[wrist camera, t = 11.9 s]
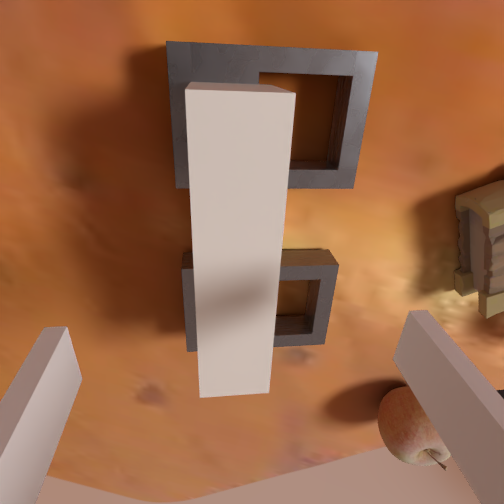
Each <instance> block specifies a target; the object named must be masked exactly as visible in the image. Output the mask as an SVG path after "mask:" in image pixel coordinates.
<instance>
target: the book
mask: <svg viewBox="0 0 504 504" xmlns="http://www.w3.org/2000/svg"><path fill="white" fill-rule="evenodd" d="M455 198H456V201H455V209H456V218H458V219H459V220H460V223H459V225H458V228H459V232H460V238H459V240H458V247H459V249H460V251H461V255H460V256H459V257H458V258H459V262H460V263H461V265H462V267H461V268H460V269H459V270H455V271H454V275H455V291H456V292H458V293H459V294H460V295H461V296H462V297H463V296H466V295H469V294H472V293H474V292H477V291H478V295H479V312H480V313H481V314H482V315H483V316H484V317H485V318H486V319H487V318H489V317H491V316H493V315H495V314H497V313H500V312H504V179H503V180H499V181H496V182H493V183H490V184H487V185H485V186H482V187H479V188H476V189H474V190H471V191H468V192H465V193H463V194H460V195H457V196H456V197H455Z"/></svg>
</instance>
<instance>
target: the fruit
mask: <svg viewBox="0 0 504 504" xmlns="http://www.w3.org/2000/svg"><path fill="white" fill-rule="evenodd" d="M378 427H379V431H380V434H381V437H382V439H383V441H384V443H385V445H386V447H387V448H388V450H389V451H390V452H391V453H392V454H393V455H394V456H395V457H397V458H398V459H399V460H401V461H403V462H405V463H408V464H412V465H419V466H428V465H433V464H437V463H438V464H439V465H441V467H442V468H444V470H447V466H444V465H443V464H441V463H440V462H442V461H445V460H446V459H448V458H449V457H450V456H451V454H450V452H449V451H448V449H447V447H446V446H445V444H444V442H443V441H442V439H441V437H440V436H439V434H438V433H437V431H436V429H435V428H434V426H433V424H432V423H431V421H430V419H429V418H428V416H427V415H426V413H425V411H424V410H423V408H422V406H421V405H420V403H419V402H418V400H417V398H416V397H415V395H414V393H413V392H412V390H411V388H410V387H409V386H405V387H399V388H396V389H393V390H391V391H389V392H388V393H387V394H386V395H385V396H384V398H383V399H382V401H381V404H380V407H379V411H378Z"/></svg>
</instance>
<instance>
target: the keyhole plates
mask: <svg viewBox="0 0 504 504" xmlns="http://www.w3.org/2000/svg"><path fill="white" fill-rule="evenodd" d="M166 49H167V63H168V78H169V93H170V108H171V122H172V137H173V152H174V167H175V182H176V188H190V184H189V163H188V143H187V122H186V102H185V89H186V87H187V86H188V85H189V83H190V82H212V83H239V84H259V72H275V73H298V74H322V75H339V77H338V84H337V91H336V98H335V105H334V112H333V119H332V126H331V133H330V140H329V147H328V155H327V161H314V160H290V165H289V176H288V187H287V188H308V189H353V187H354V181H355V176H356V170H357V165H358V160H359V154H360V149H361V143H362V138H363V132H364V127H365V122H366V116H367V111H368V105H369V100H370V95H371V89H372V84H373V78H374V73H375V67H376V62H377V57H378V52H370V51H350V50H331V49H311V48H292V47H273V46H253V45H234V44H214V43H195V42H175V41H166ZM338 268H339V264H338V263H337V261H336V260H335V258H334V257H333V255H332V254H331V252H330V250H329V249H327V250H282V253H281V264H280V275H279V281H284V280H310V282H309V289H308V296H307V303H306V310H305V315H298V316H276V320H275V331H274V342H273V347H284V346H302V345H320V344H325V338H326V333H327V327H328V322H329V317H330V311H331V306H332V300H333V295H334V289H335V284H336V279H337V273H338ZM181 270H182V285H183V300H184V314H185V329H186V344H187V352H193V351H198V348H197V327H196V307H195V286H194V266H193V252H184V253H183V260H182V269H181Z"/></svg>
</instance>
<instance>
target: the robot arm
mask: <svg viewBox="0 0 504 504" xmlns="http://www.w3.org/2000/svg"><path fill="white" fill-rule="evenodd" d="M393 361H394V362H395V364H396V366H397V367H398V369H399V370H400V372H401V374H402V375H403V377H404V379H405V380H406V382H407V384H408V385H409V387H410V388H411V390H412V392H413V393H414V395H415V397H416V398H417V400H418V402H419V403H420V405H421V406H422V408H423V410H424V411H425V413H426V415H427V416H428V418H429V419H430V421H431V423H432V424H433V426H434V428H435V429H436V431H437V433H438V434H439V436H440V437H441V439H442V441H443V442H444V444H445V446H446V447H447V449H448V451H449V452H450V454H451V455H452V457H453V459H454V460H455V462H456V463H457V465H458V467H459V468H460V470H461V472H462V473H463V475H464V476H465V478H466V480H467V482H468V483H469V485H470V486H471V488H472V490H473V491H474V493H475V495H476V496H477V498H478V500H479V501H480V503H481V504H504V390H495V388H494V387H493V386H492V385H491V384H490V383H489V382H488V380H487V379H486V378H485V377H484V376H483V375H482V373H481V372H480V371H479V370H478V369H477V368H476V366H475V365H474V364H473V363H472V362H471V361H470V359H469V358H468V357H467V356H466V355H465V354H464V353H463V351H462V350H461V349H460V348H459V347H458V346H457V344H456V343H455V342H454V341H453V340H452V339H451V337H450V336H449V335H448V334H447V333H446V332H445V331H444V329H443V328H442V327H441V326H440V325H439V324H438V322H437V321H436V320H435V319H434V318H433V317H432V315H431V314H430V313H429V312H428V311H427V310H417V311H409V313H408V316H407V319H406V322H405V325H404V328H403V331H402V334H401V337H400V340H399V343H398V346H397V348H396V351H395V354H394V357H393ZM81 381H82V376H81V373H80V369H79V366H78V362H77V359H76V356H75V352H74V349H73V345H72V342H71V339H70V335H69V332H68V328H67V326H64V327H44V329H43V330H42V332H41V334H40V335H39V337H38V339H37V341H36V342H35V344H34V346H33V347H32V349H31V351H30V352H29V354H28V356H27V358H26V359H25V361H24V363H23V364H22V366H21V368H20V369H19V371H18V373H17V375H16V376H15V378H14V380H13V381H12V383H11V385H10V387H9V388H8V390H7V392H6V393H5V395H4V397H3V398H2V400H1V402H0V504H35V503H36V501H37V498H38V495H39V493H40V490H41V487H42V485H43V482H44V479H45V477H46V474H47V472H48V469H49V466H50V464H51V461H52V458H53V456H54V453H55V450H56V448H57V445H58V442H59V440H60V437H61V434H62V432H63V429H64V426H65V424H66V421H67V418H68V416H69V413H70V411H71V408H72V405H73V403H74V400H75V397H76V395H77V392H78V389H79V387H80V384H81Z"/></svg>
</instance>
